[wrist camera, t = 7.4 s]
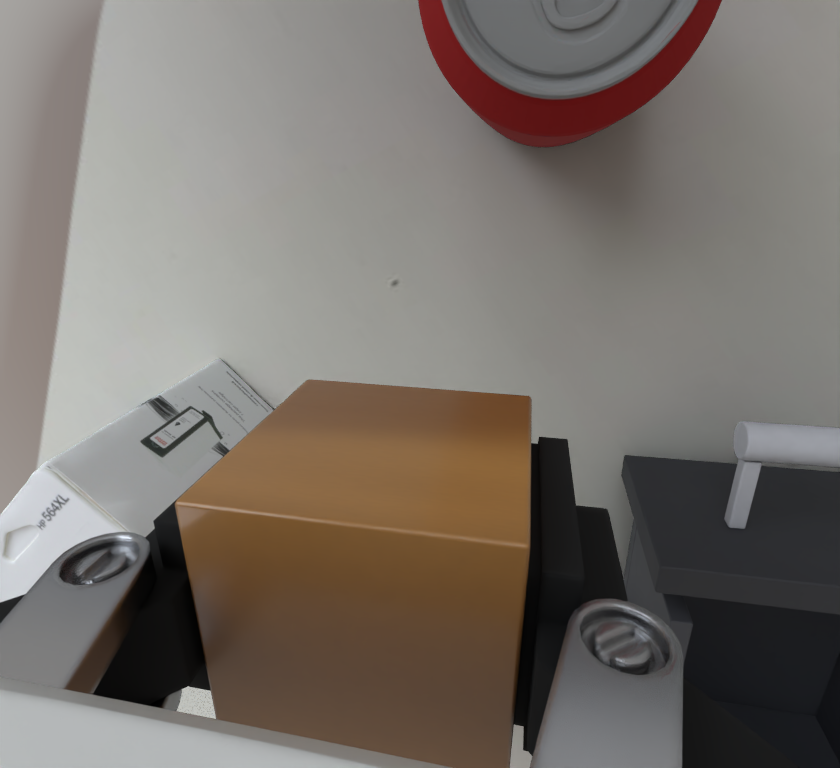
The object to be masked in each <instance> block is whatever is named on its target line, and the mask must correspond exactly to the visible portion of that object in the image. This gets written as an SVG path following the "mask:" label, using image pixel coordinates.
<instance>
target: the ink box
mask: <svg viewBox="0 0 840 768" xmlns="http://www.w3.org/2000/svg"><path fill="white" fill-rule="evenodd" d="M273 411H274V410H273V409H272V408H271V407H270V406H269V405H268V404H267V403H266V402H265V401H264V400H262V399H261V398H260V397H259V396H258V395H257V394H256V393H255V392H254V391H253V390H252V389H251V388H250V387H249V386H248V385H247V384H246V383H245V382H244V381H243V380H242V379H241V378H240V377H239V376H238V375H237V374H236V373H235V372H234V371H232V370H231V369H230V368H229V367H228V366H227V365H226V364H225V363H224V362H223V361H222V360H221V359H216V360H214V361H213V362H211V363H209V364H208V365H206V366H205V367H203V368H202V369H200V370H198V371H197V372H195V373H193V374H192V375H190V376H188V377H187V378H185V379H183V380H182V381H180V382H178V383H177V384H175V385H173V386H172V387H170V388H168V389H166V390H165V391H163V392H161V393H160V394H158V395H156V396H155V397H153V398H151V399H150V400H148V401H146V402H145V403H143V404H141V405H140V406H138V407H136V408H135V409H133V410H131V411H129V412H128V413H126V414H124V415H123V416H121V417H120V418H118V419H116V420H115V421H113V422H111V423H110V424H108V425H106V426H105V427H103V428H102V429H100V430H98V431H97V432H95V433H93V434H92V435H90V436H89V437H87V438H85V439H84V440H82V441H81V442H79V443H77V444H76V445H74V446H72V447H71V448H69V449H67V450H66V451H64V452H62V453H61V454H59V455H57V456H55V457H54V458H52V459H50V460H49V461H47V462H45V463H44V464H43V465H42V466H41V467H40V468H39V469H38V470H36V471H35V472H34V473H33V474H32V475H31V477H30V478H29V480H28V481H27V483H26V484H25V485H24V486H23V487H22V489H21V490H20V491H19V492H18V493H17V495H16V496H15V497H14V499H13V500H12V501H11V502H10V504H9V505H8V506H7V507H6V509H5V510H4V511H3V512H2V513H1V515H0V602H3V601H6V600H9V599H12V598H15V597H18V596H21V595H24V594H26V593H27V592H28V591H29V589H30V588H31V587H32V586H33V585H34V584H35V583H36V581H37V580H38V579H39V578H40V577H41V576H42V575H43V573H44V572H45V571H46V570H47V569H48V568H49V566H50V565H51V564H52V563H53V562H54V561H55V560H56V559H57V558H58V557H59V556H60V555H61V554H63V553H64V552H65V551H67V550H68V549H70V548H71V547H73V546H75V545H76V544H78V543H81V542H83V541H85V540H88V539H90V538H92V537H96V536H100V535H103V534H107V533H115V532H131V533H136V534H139V535H142V536H144V537H146V536H147V535H148V534H149V533H150V532H151V531H153V530H154V529H155V527H154V522H153V521H154V520H155V519H156V518H157V517H158V516H159V515H160V514H161V513H162V512H163V511H165V510H166V509H167V508H168V507H169V506H170V505H171V504H172V503H173V502H174V501H175V500H176V499H178V498H179V497H180V496H181V495H182V494H183V493H184V492H185V491H186V490H187V489H188V488H190V487H191V486H192V485H193V484H194V483H195V482H196V481H197V480H198V479H199V478H200V477H201V476H203V475H204V474H205V473H206V472H207V471H208V470H209V469H210V468H211V467H212V466H213V465H215V464H216V463H217V462H218V461H219V460H220V459H221V458H222V457H223V456H224V455H225V454H226V453H228V452H229V451H230V450H231V449H232V448H233V447H234V446H235V445H236V444H237V443H238V442H240V441H241V440H242V439H243V438H244V437H245V436H246V435H247V434H248V433H249V432H250V431H251V430H253V429H254V428H255V427H256V426H257V425H258V424H259V423H260V422H261V421H262V420H263V419H265V418H266V417H267V416H268V415H269V414H271V413H272V412H273Z"/></svg>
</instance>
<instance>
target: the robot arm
mask: <svg viewBox="0 0 840 768" xmlns="http://www.w3.org/2000/svg"><path fill="white" fill-rule="evenodd" d="M269 415H270V414H269ZM263 420H264V419H263ZM263 420H262V421H263ZM262 421H261V422H262ZM261 422H260V423H261ZM260 423H259V424H260ZM259 424H258V425H259ZM258 425H257V426H258ZM257 426H256V427H257ZM251 431H252V430H251ZM251 431H250V432H251ZM250 432H249V433H250ZM249 433H248V434H249ZM248 434H247V435H248ZM247 435H246V436H247ZM246 436H245V437H246ZM245 437H244V438H245ZM238 443H239V442H238ZM238 443H237V444H238ZM237 444H236V445H237ZM236 445H235V446H236ZM235 446H234V447H235ZM234 447H233V448H234ZM233 448H232V449H233ZM232 449H231V450H232ZM226 454H227V453H226ZM226 454H225V455H226ZM225 455H224V456H225ZM224 456H223V457H224ZM223 457H222V458H223ZM222 458H221V459H222ZM221 459H220V460H221ZM220 460H219V461H220ZM219 461H218V462H219ZM213 466H214V465H213ZM213 466H212V467H213ZM212 467H211V468H212ZM211 468H210V469H211ZM210 469H209V470H210ZM209 470H208V471H209ZM208 471H207V472H208ZM207 472H206V473H207ZM206 473H205V474H206ZM201 477H202V476H201ZM201 477H200V478H201ZM200 478H199V479H200ZM199 479H198V480H199ZM198 480H197V481H198ZM197 481H196V482H197ZM196 482H195V483H196ZM195 483H194V484H195ZM194 484H193V485H194ZM193 485H192V486H193ZM188 489H189V488H188ZM188 489H187V490H188ZM187 490H186V491H187ZM186 491H185V492H186ZM185 492H184V493H185ZM184 493H183V494H184ZM183 494H182V495H183ZM182 495H181V496H182ZM181 496H180V497H181ZM180 497H179V498H180ZM176 500H177V499H176ZM176 500H175V501H174V502H173V503H172V504H171V505H170V506H169V507H168V508H167V509H166V510H165V511H163V512H162V513H161V514H160V515H159V516H158V517H157V518H156V519H155V520H154V521H153V522H154V527H155V529H154V530H153V531H151V532H150V533H149V534H148V535H147V536H146V537H144V536H142V535H139V534H136V533H131V532H115V533H107V534H103V535H100V536H96V537H92V538H90V539H88V540H85V541H83V542H81V543H78V544H76V545H75V546H73V547H71V548H70V549H68V550H67V551H65V552H64V553H63V554H61V555H60V556H59V557H58V558H57V559H56V560H55V561H54V562H53V563H52V564H51V565H50V566H49V568H48V569H47V570H46V571H45V572H44V573H43V575H42V576H41V577H40V578H39V579H38V580H37V581H36V583H35V584H34V585H33V586H32V587H31V588H30V589H29V591H28V592H27V593H26V594H24V595H21V596H18V597H15V598H12V599H9V600H6V601H3V602H0V768H452V767H447V766H442V765H437V764H432V763H428V762H423V761H418V760H413V759H408V758H403V757H399V756H394V755H389V754H384V753H379V752H375V751H370V750H365V749H360V748H355V747H350V746H346V745H341V744H336V743H331V742H326V741H321V740H316V739H312V738H307V737H302V736H297V735H292V734H287V733H282V732H277V731H272V730H267V729H262V728H257V727H252V726H247V725H242V724H237V723H232V722H227V721H222V720H217V719H212V718H207V717H202V716H197V715H192V714H187V713H182V712H177V711H176V710H177V708H178V705H179V703H180V698H181V694H182V690H181V689H183V688H185V687H187V686H189V687H194V688H200V689H205V690H210V691H211V689H210V684H209V679H208V673H207V668H206V663H205V658H204V653H203V648H202V643H201V637H200V632H199V627H198V622H197V617H196V612H195V607H194V601H193V596H192V591H191V586H190V581H189V576H188V571H187V565H186V560H185V555H184V550H183V545H182V540H181V535H180V529H179V524H178V519H177V514H176V509H175V502H176ZM514 724H515V725H520V726H524V741H523V750H524V751H529V753H530V754H531V755H532V756H533V757H532V761H531V765H530V768H800V767H799V766H797V765H796V764H795V763H794V762H792V761H791V760H790V759H788V758H787V757H786V756H785V755H783V754H782V753H781V752H779V751H778V750H777V749H776V748H774V747H773V746H772V745H770V744H769V743H768V742H767V741H765V740H764V739H763V738H761V737H760V736H759V735H758V734H756V733H755V732H754V731H752V730H751V729H750V728H749V727H747V726H746V725H745V724H743V723H742V722H741V721H739V720H738V719H737V718H736V717H734V716H733V715H732V714H730V713H729V712H728V711H727V710H725V709H724V708H723V707H721V706H720V705H719V704H718V703H716V702H715V701H714V700H712V699H711V698H710V697H709V696H707V695H706V694H705V693H703V692H702V691H701V690H700V689H698V688H697V687H696V686H694V685H693V684H692V683H691V682H689V681H688V680H687V679H685V678H684V677H683V654H682V649H681V644H680V642H679V640H678V639H677V637H676V635H675V634H674V632H673V630H672V629H671V628H670V627H669V626H668V625H667V624H666V623H665V622H664V621H663V620H662V619H661V618H659V617H658V616H656V615H655V614H653V613H652V612H650V611H649V610H647V609H645V608H643V607H641V606H638V605H636V604H633V603H631V602H628V599H627V594H626V590H625V585H624V580H623V576H622V571H621V567H620V562H619V558H618V553H617V548H616V544H615V539H614V535H613V530H612V526H611V521H610V516H609V513H608V510H607V509H603V508H594V507H585V506H576V504H575V496H574V488H573V480H572V472H571V464H570V456H569V448H568V440H567V439H558V438H547V437H539V441H538V444H534V443H531V548H530V558H529V569H528V579H527V590H526V600H525V610H524V621H523V631H522V642H521V652H520V663H519V673H518V684H517V694H516V705H515V715H514Z"/></svg>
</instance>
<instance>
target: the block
mask: <svg viewBox="0 0 840 768" xmlns="http://www.w3.org/2000/svg"><path fill="white" fill-rule="evenodd" d="M531 412H532V399H531V397H529V396H521V395H507V394H494V393H481V392H468V391H455V390H441V389H428V388H415V387H402V386H389V385H375V384H362V383H349V382H336V381H323V380H306V381H305V382H304V383H303V384H302V385H301V386H300V387H299V388H298V389H297V390H296V391H294V392H293V393H292V394H291V395H290V396H289V397H288V398H287V399H286V400H285V401H284V402H283V403H281V404H280V405H279V406H278V407H277V408H276V409H275V410H274V411H273V412H272V413H271V414H270V415H268V416H267V417H266V418H265V419H264V420H263V421H262V422H261V423H260V424H259V425H258V426H257V427H255V428H254V429H253V430H252V431H251V432H250V433H249V434H248V435H247V436H246V437H245V438H243V439H242V440H241V441H240V442H239V443H238V444H237V445H236V446H235V447H234V448H233V449H232V450H230V451H229V452H228V453H227V454H226V455H225V456H224V457H223V458H222V459H221V460H220V461H219V462H217V463H216V464H215V465H214V466H213V467H212V468H211V469H210V470H209V471H208V472H207V473H206V474H204V475H203V476H202V477H201V478H200V479H199V480H198V481H197V482H196V483H195V484H194V485H193V486H191V487H190V488H189V489H188V490H187V491H186V492H185V493H184V494H183V495H182V496H181V497H180V498H178V499H177V500H176V502H175V509H176V514H177V519H178V524H179V529H180V535H181V540H182V545H183V550H184V555H185V560H186V565H187V571H188V576H189V581H190V586H191V591H192V596H193V601H194V607H195V612H196V617H197V622H198V627H199V632H200V637H201V643H202V648H203V653H204V658H205V663H206V668H207V673H208V679H209V684H210V689H211V694H212V699H213V704H214V709H215V715H216V719H217V720H222V721H227V722H232V723H237V724H242V725H247V726H252V727H257V728H262V729H267V730H272V731H277V732H282V733H287V734H292V735H297V736H302V737H307V738H312V739H316V740H321V741H326V742H331V743H336V744H341V745H346V746H350V747H355V748H360V749H365V750H370V751H375V752H379V753H384V754H389V755H394V756H399V757H403V758H408V759H413V760H418V761H423V762H428V763H432V764H437V765H442V766H447V767H452V768H510V757H511V747H512V736H513V726H514V715H515V705H516V694H517V684H518V673H519V663H520V652H521V642H522V631H523V621H524V610H525V600H526V590H527V579H528V569H529V558H530V548H531Z"/></svg>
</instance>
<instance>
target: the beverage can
mask: <svg viewBox="0 0 840 768" xmlns="http://www.w3.org/2000/svg"><path fill="white" fill-rule="evenodd" d="M418 1H419V8H420V15H421V19H422V24H423V28H424V32H425V35H426V38H427V42H428V44H429V47H430V49H431V52H432V54H433V56H434V58H435V61H436V63H437V65H438V67H439V68H440V70H441V72H442V73H443V75H444V77H445V78H446V80H447V81H448V82H449V84H450V85H451V87H452V88H453V89H454V90H455V91H456V93H457V94H458V95H459V96H460V97H461V98H462V99H463V100H464V102H465V103H466V104H467V105H468V106H469V107H470V108H471V109H472V110H473V111H474V112H475V113H476V114H477V115H478V116H479V117H480V118H481V119H482V120H484V121H485V122H486V123H487V124H488V125H490V126H491V127H492V128H493V129H495V130H496V131H497V132H499V133H500V134H502V135H504V136H505V137H507V138H509V139H511V140H513V141H515V142H518V143H521V144H524V145H528V146H534V147H554V146H560V145H564V144H568V143H571V142H575V141H577V140H580V139H583V138H585V137H588V136H590V135H592V134H594V133H596V132H598V131H600V130H602V129H604V128H606V127H608V126H610V125H612V124H614V123H615V122H617V121H619V120H621V119H622V118H624V117H626V116H627V115H629V114H631V113H633V112H634V111H636V110H637V109H639V108H640V107H642V106H643V105H645V104H646V103H647V102H648V101H650V100H651V99H652V98H653V97H655V96H656V95H657V94H658V93H659V92H660V91H662V90H663V89H664V88H665V87H666V86H667V85H668V84H669V83H670V82H671V81H672V80H673V79H674V78H675V76H676V75H677V74H678V73H679V72H680V71H681V70H682V68H683V67H684V66H685V65H686V63H687V62H688V61H689V60H690V58H691V57H692V55H693V54H694V53H695V51H696V50H697V48H698V47H699V45H700V43H701V42H702V40H703V38H704V37H705V35H706V33H707V32H708V30H709V28H710V26H711V24H712V22H713V20H714V18H715V16H716V13H717V11H718V8H719V6H720V4H721V1H722V0H418Z"/></svg>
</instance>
